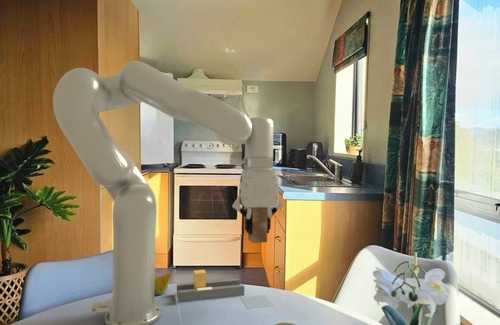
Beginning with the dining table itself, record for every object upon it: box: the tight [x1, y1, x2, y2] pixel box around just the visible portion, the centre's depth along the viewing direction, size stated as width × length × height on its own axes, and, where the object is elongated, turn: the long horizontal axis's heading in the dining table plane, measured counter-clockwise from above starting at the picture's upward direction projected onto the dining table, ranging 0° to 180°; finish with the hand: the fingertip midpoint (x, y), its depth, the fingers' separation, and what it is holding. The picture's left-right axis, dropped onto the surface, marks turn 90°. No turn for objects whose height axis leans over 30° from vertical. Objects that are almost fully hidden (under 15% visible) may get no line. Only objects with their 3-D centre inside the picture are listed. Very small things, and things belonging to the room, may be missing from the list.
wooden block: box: [247, 207, 268, 244], centre depth 88 cm, size 4×4×10 cm
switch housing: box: [176, 277, 245, 305], centre depth 93 cm, size 18×6×3 cm, turn 107°
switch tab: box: [193, 269, 207, 289], centre depth 92 cm, size 3×3×5 cm
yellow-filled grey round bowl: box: [154, 272, 172, 296], centre depth 93 cm, size 5×5×10 cm
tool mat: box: [240, 294, 274, 310], centre depth 88 cm, size 7×7×1 cm
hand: (257, 232), depth 88 cm, fingers closed on wooden block, 4 cm apart
